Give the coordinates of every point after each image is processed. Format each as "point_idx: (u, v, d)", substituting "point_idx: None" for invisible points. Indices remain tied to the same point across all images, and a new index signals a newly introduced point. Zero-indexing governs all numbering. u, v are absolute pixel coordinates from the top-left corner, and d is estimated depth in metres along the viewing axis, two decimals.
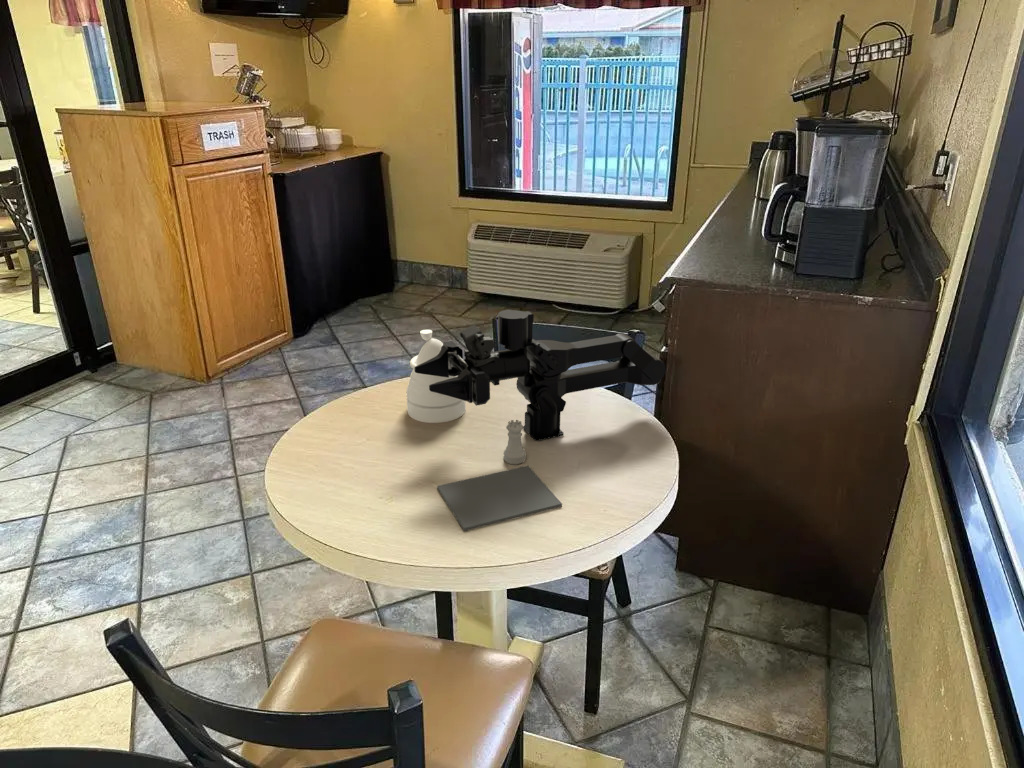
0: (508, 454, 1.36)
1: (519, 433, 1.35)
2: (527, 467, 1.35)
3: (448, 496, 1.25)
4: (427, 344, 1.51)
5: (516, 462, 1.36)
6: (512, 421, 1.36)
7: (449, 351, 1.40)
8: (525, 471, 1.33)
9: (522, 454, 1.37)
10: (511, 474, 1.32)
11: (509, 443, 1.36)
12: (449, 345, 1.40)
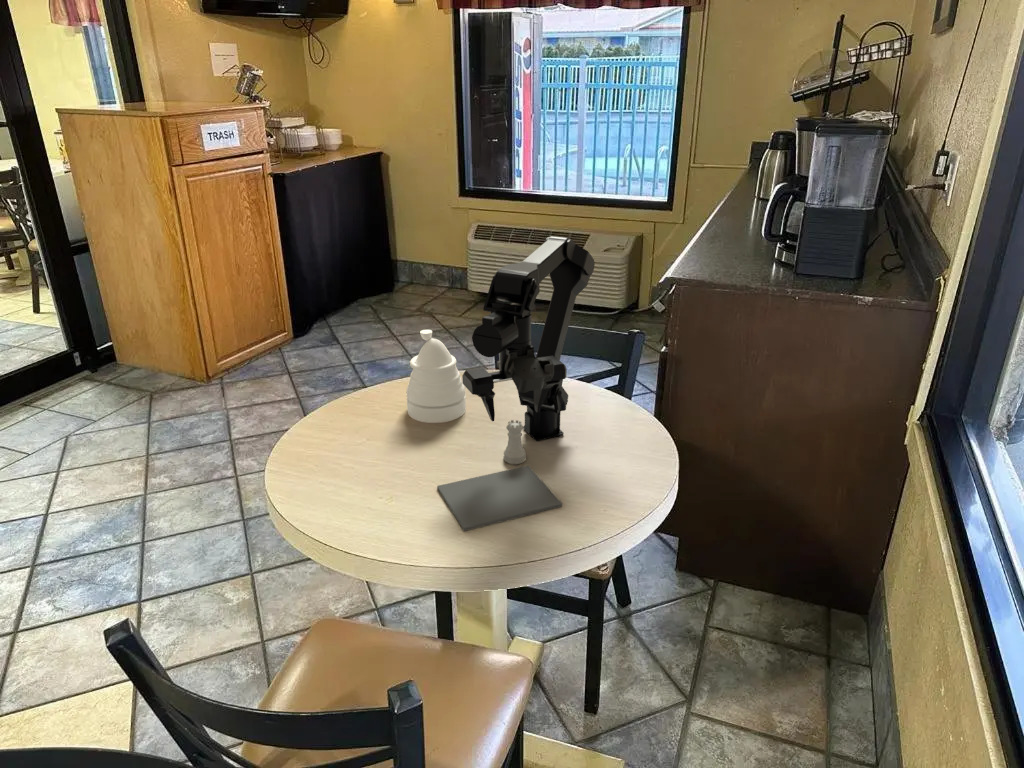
0: (508, 454, 1.36)
1: (519, 433, 1.35)
2: (527, 467, 1.35)
3: (448, 496, 1.25)
4: (427, 344, 1.51)
5: (516, 462, 1.36)
6: (512, 421, 1.36)
7: None
8: (525, 471, 1.33)
9: (522, 454, 1.37)
10: (511, 474, 1.32)
11: (509, 443, 1.36)
12: (488, 390, 1.27)
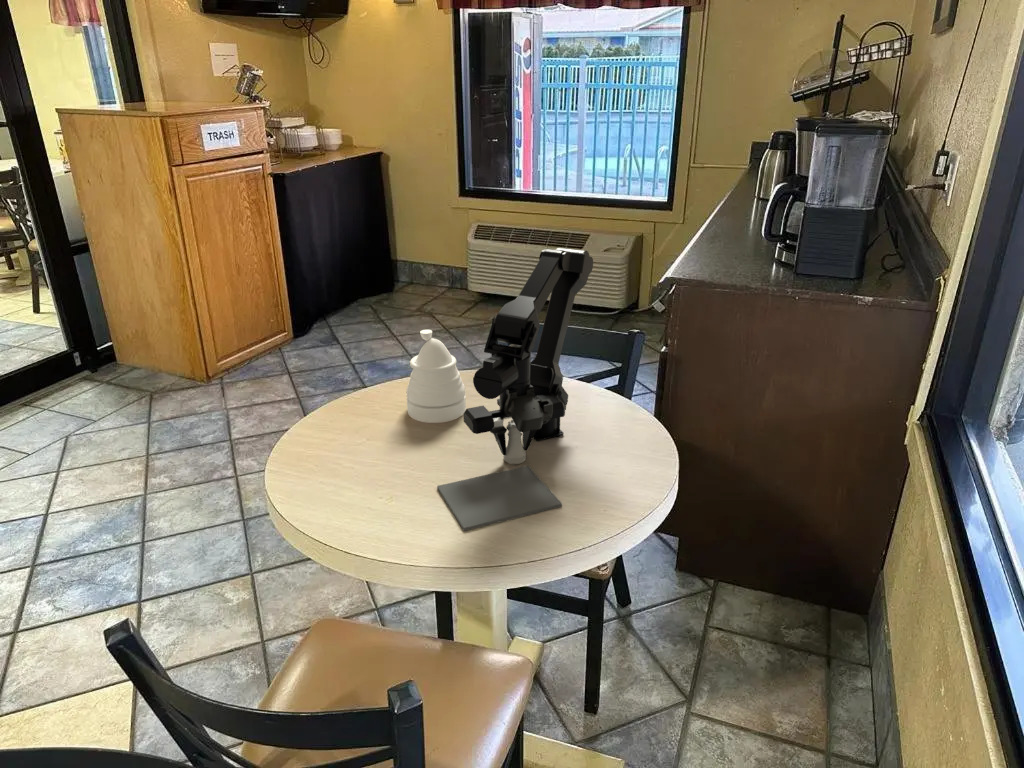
0: (508, 454, 1.36)
1: (519, 433, 1.35)
2: (527, 467, 1.35)
3: (448, 496, 1.25)
4: (427, 344, 1.51)
5: (516, 462, 1.36)
6: (512, 421, 1.36)
7: (500, 425, 1.32)
8: (525, 471, 1.33)
9: (522, 454, 1.37)
10: (511, 474, 1.32)
11: (509, 443, 1.36)
12: (489, 429, 1.30)
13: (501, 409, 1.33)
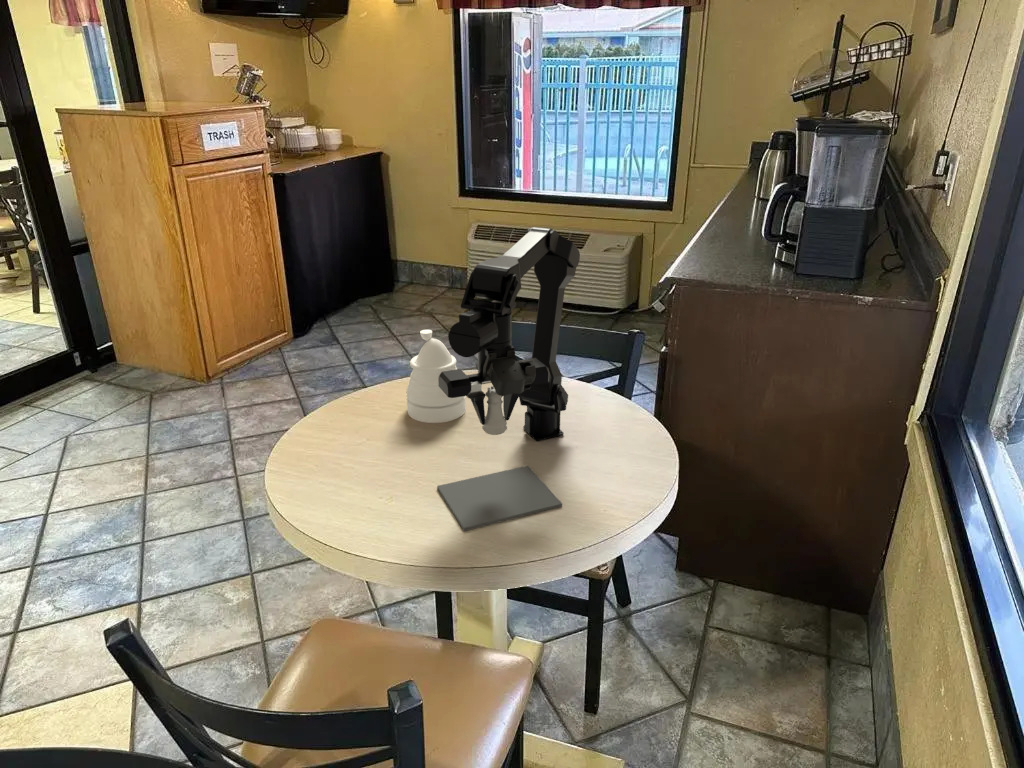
0: (487, 423, 1.25)
1: (499, 400, 1.24)
2: (527, 467, 1.35)
3: (448, 496, 1.25)
4: (427, 344, 1.51)
5: (496, 432, 1.25)
6: (492, 387, 1.25)
7: (478, 390, 1.21)
8: (525, 471, 1.33)
9: (503, 423, 1.25)
10: (511, 474, 1.32)
11: (488, 411, 1.25)
12: (466, 393, 1.19)
13: (479, 373, 1.22)
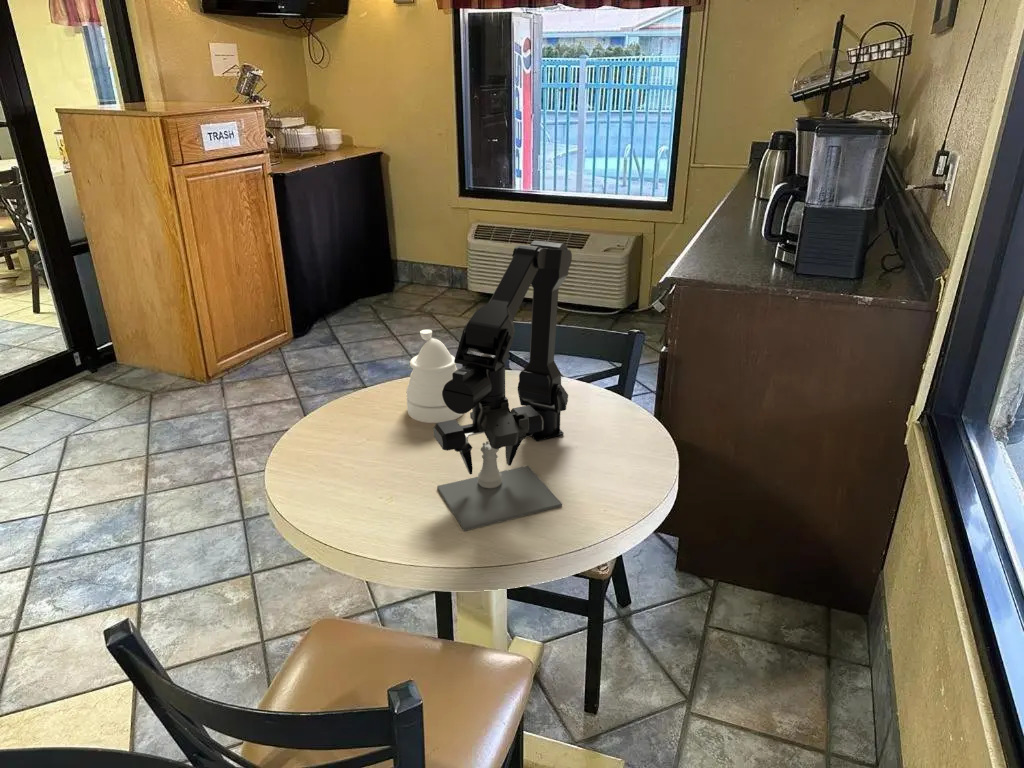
0: (483, 477, 1.27)
1: (494, 455, 1.26)
2: (527, 467, 1.35)
3: (448, 496, 1.25)
4: (427, 344, 1.51)
5: (491, 486, 1.27)
6: (487, 442, 1.27)
7: (465, 442, 1.22)
8: (525, 471, 1.33)
9: (498, 477, 1.28)
10: (511, 474, 1.32)
11: (484, 466, 1.27)
12: (460, 446, 1.20)
13: (474, 423, 1.23)
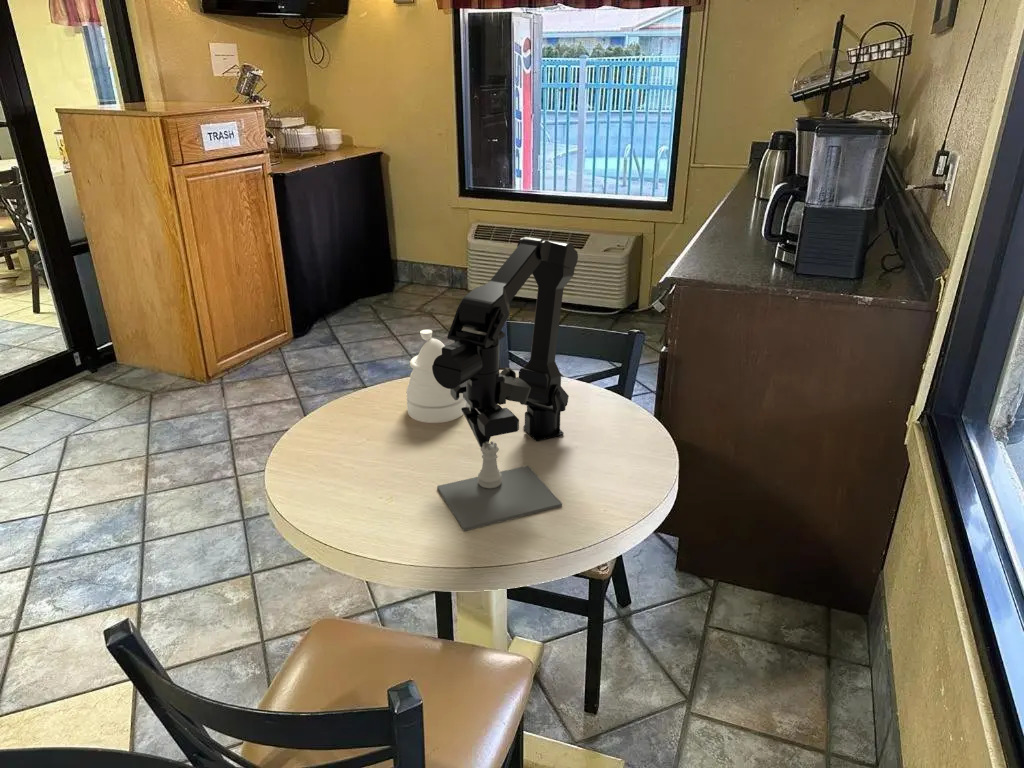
0: (483, 477, 1.27)
1: (494, 455, 1.26)
2: (527, 467, 1.35)
3: (448, 496, 1.25)
4: (427, 344, 1.51)
5: (491, 486, 1.27)
6: (487, 442, 1.27)
7: None
8: (525, 471, 1.33)
9: (498, 477, 1.28)
10: (511, 474, 1.32)
11: (483, 466, 1.27)
12: None
13: (490, 404, 1.23)
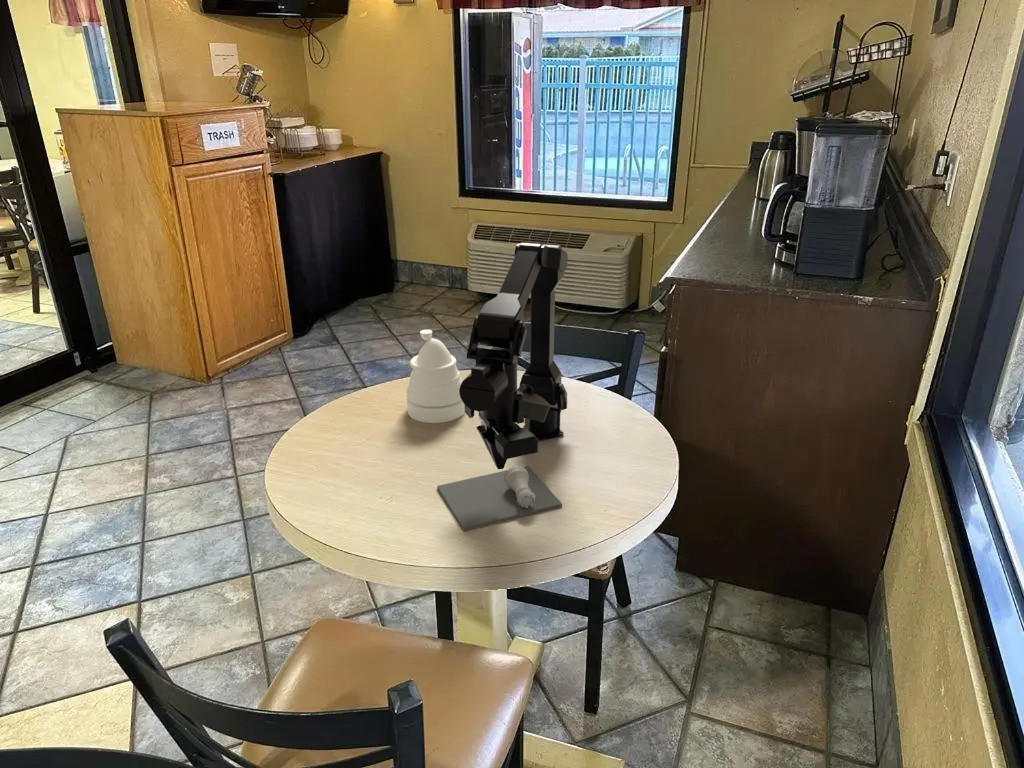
0: (514, 474, 1.25)
1: None
2: (527, 467, 1.35)
3: (448, 496, 1.25)
4: (427, 344, 1.51)
5: (505, 475, 1.26)
6: (533, 500, 1.21)
7: None
8: None
9: (508, 485, 1.26)
10: None
11: (520, 482, 1.24)
12: None
13: (508, 423, 1.17)
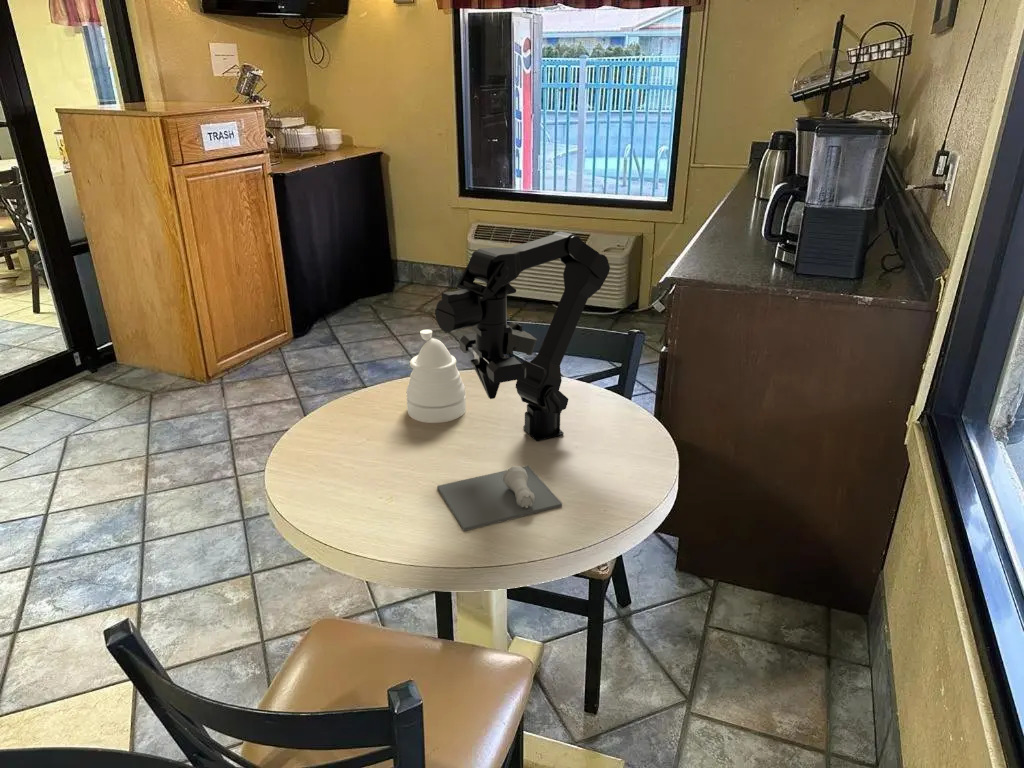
0: (513, 474, 1.25)
1: None
2: (527, 467, 1.35)
3: (448, 496, 1.25)
4: (427, 344, 1.51)
5: (504, 476, 1.26)
6: (532, 500, 1.21)
7: None
8: None
9: (507, 486, 1.26)
10: None
11: (519, 482, 1.24)
12: None
13: (498, 354, 1.30)
